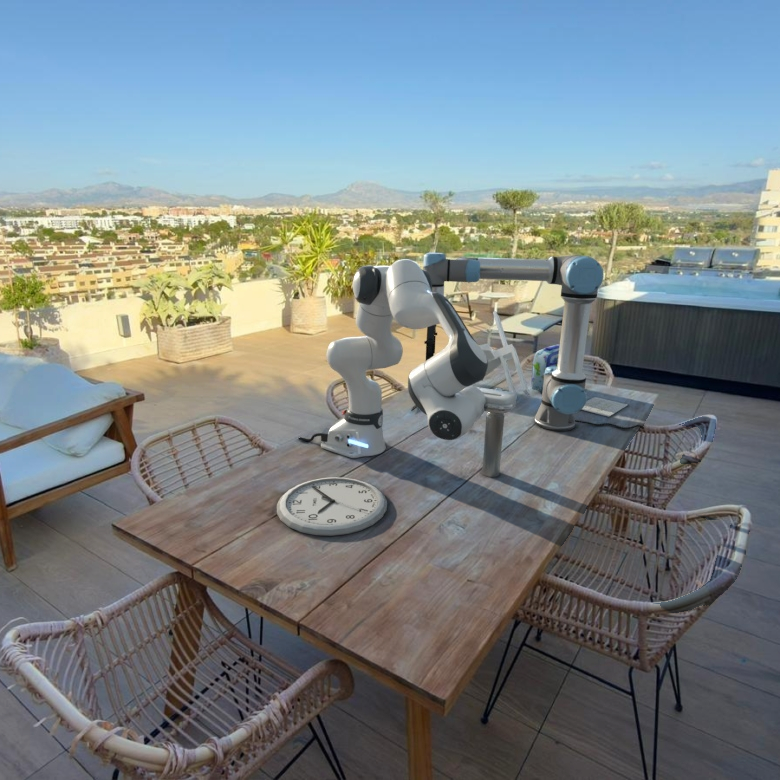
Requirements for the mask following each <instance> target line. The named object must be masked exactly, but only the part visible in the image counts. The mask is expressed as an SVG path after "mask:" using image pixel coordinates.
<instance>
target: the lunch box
mask: <svg viewBox="0 0 780 780" xmlns="http://www.w3.org/2000/svg"><path fill="white" fill-rule="evenodd" d="M559 346H560V344H554V345H550V346H547V347H544V348H542V349H541V348H540V349H539V350H537V351H536V352H535V353H534V356H533V360H532V367H531V368H532V369H531V382H530V383H531V386H530V387H531V389H532V390H533V391H537V392H541V393H542V392H543V382H544V373H545V369H546V368H547V367H553V366H557V364H558V355H559Z"/></svg>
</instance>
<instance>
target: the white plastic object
mask: <svg viewBox="0 0 780 780" xmlns="http://www.w3.org/2000/svg"><path fill="white" fill-rule="evenodd" d="M492 315H493V319H494V321H495V324H496V325H495V326H496V328H497V332H498V335H499V338H500V342H501V345H502V347H500V348H498V349H496V350H495V349H493V348H492V347H491V346H490V344H489V343H488V342H487V343H483V344H478V345H479V346H480V348H481V349H482V350H483V352H484V353H485V355H486V357H487V360H488V367H487V371H486V374H485V377H486V376H487V375H489V374H490V373H492V372H494V371H495V370H496V369H497V368H499V367H500V366H502V370H503V373H504V376H505V380H506V383H507V386H508V390H509V392H514V393H515V394H516V399H517V392H516V391H517V390H516V388H515V385H514V381H513V378H512V375H511V371H510V369H509V365H508V361H510V360H513V363H514V366H515V369H516V372H517V376H518V380H519V382H520V385H521V389H522V391H523V393H524V395H525V396H526V397H528V396H531V395H530V390H529V388H528V387H529V386H528V384H527V381H526V378H525V375H524V371H523V369H522V368H523V367H522V366H521V362H520V359H519V355H518V352H517V349H516V347H515V346H514V345H513V343H511V344H508V341H507V337H506V334H505V331H504V328H503V325H502V321H501V318H500V315H499V314H498V312H497V311H496V310H495V311H492ZM482 381H483V380H481V381H479V382H478V383H480V382H482Z"/></svg>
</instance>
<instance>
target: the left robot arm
mask: <svg viewBox="0 0 780 780" xmlns="http://www.w3.org/2000/svg"><path fill="white" fill-rule="evenodd" d="M352 291H353V296H354V299H355V300H356V301H357V302H358V306H357V310H356V316H355V326H356V327H357V329H358V330H359V331H360V332H361V333H362V334H363V335H364V336H351V337H343V338H340V339H336V340H333V341H331V342H330V343H329V345H328V347H327V349H326V355H325V356H326V361H327V364H328V365H329V367H330V368H331V369H332V370H333V371H334V372H336V373H338V375H340V377H341V378H342V379H343V380H344V382H345V385H346V389H347V398H348V407H346V408H344V410H343V411H341V416H344V417H343V418H341V419H340V420H339V421H337V422H336V423H334V424H333V425H331V427H330V428H329V427H326V428H325V429H324V430H323V431H321V432H318V433H317V432H316V433H314V434H313V435H312V436H311V437H310V438H305V437H301V436H299V437H300V438H299V437H298V440H299V441H302V442H307V443H308V442H309V443H310V442H312V441H314V439H315V438H316V437H320V442H321V443H320V448H321V449H323V450H326V451H329V452H332V453H335V454H338V455H341V456H344V457H347V458H350V459H359V458H362V457H363V458H364V457H372V456H377V455H380V454H382V453H384V452H385V451H386V449H387V447H386V443H385V439H384V432H383V423H384V410H383V409H384V408H382V407H383V406H382V402H383V401H382V399H383V398H382V397H383V391H382V390H383V389H382V387H381V386H380V384H379V383H378V382H377V381H376V380H373V379H371V378H368V377H367V371H371V370H379V369H387V368H391V367H393V366H397V365H398V364H399V363H400V362H401V361H402V359H403V355H404V354H403V353H404V349H403V348H404V347H403V345H402V343H401V341H400V339H399V338H398V337H397V336H395V335H394V334H393V333H392V324H393V320H394V321H395V322H396V323H397V324H398V325H400V326H401V327H403V328H405V329H410V330H423V329H427V327H429V326H432V325H436V326H437V325H440V326H441V328H442V329H443V331H444V333H445V334H446V335H445V336H446V337H447V339H448V343H447V344H446V345H445V347H444V348H443V349H441V350H439V352H437V353H435V354H434V356H433V357H431V358H430V359H428V360H427V361H426V360H424V361H423V362H421V363H420V364H418V365H417V366H416V367H414V368H413V369H412V370H410V372H409V374H408V377H407V389H408V394H409V397H410V399H411V400H412V402H413V403H414V406H415V405H416V406H417V407H416V408H418V410H419V411H420V412H422V413H423V414H424V415H426V418H427V419H426V420H427V426H428V428H429V430H430V431H431V433H432V434H433V435H434V436H435V437H436V438H438V439H440V440H445V441H453V440H457V439H460V438H462V437H463V436H464V435H466V434H467V433H468V432H469V431H470V430H471V429H472V427H473V426H474V424H476V422H477V421H478V420H479V419H480V417H482V415H484V412H495V413H504V414H508V413H510V412H511V411H512V410H513V409H515V407H516V403H517V398H516V395H517V393H516V394H515V393H514V392H510V391H506V390H503V387H502V388H501V387H496V388H494V389H492V388H485V387H478V386H476V385H475V384H477V383H480V382H482V381H484V379H485V377H486V376H485V374H486V371H487V367H488V360H487V357H486V355H485V353H484V352H483V350H482V349H481V348H480V346H479V345H480V344H478V342H477V341H476V340H475V338H474V337H473V336H472V334H471V332H470V331H469V329H468V327H467V326H466V324H465V323H464V321H463V320H462V318H461V315H460V314H459V313H458V311H457V310H456V308H455V306H454V305H453V304H452V303H451V301H450V300H449V299H448V298H447V297H446V296H445V295H444V296H443V295H442V294H440V293H438V292H435V293H432V280H431V277H430V275H429V273H428V272H427V271H424V270H423V268H421V266H420V265H419V264H418V263H417V262H416V261H414V260H411V259H406V258H405V259H404V258H403V259H399V260H396V261H395V262H393V263H392V264H390V265H372V264H369V265H363V266H360V267H359V268H358V269H357V270H356V271H355V273H354V277H353V280H352ZM481 380H482V381H481ZM479 381H480V382H479Z"/></svg>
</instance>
